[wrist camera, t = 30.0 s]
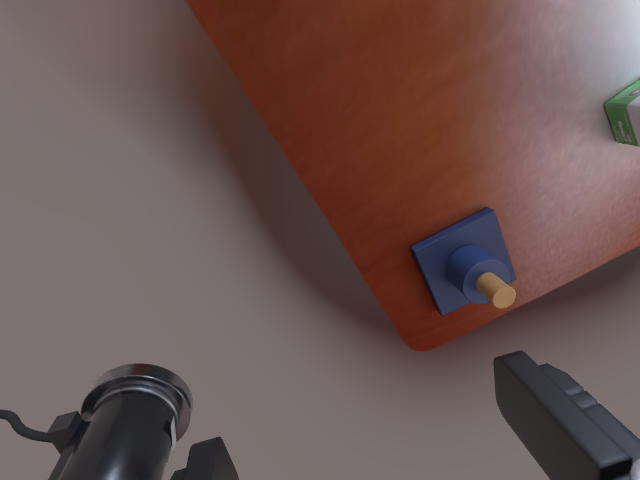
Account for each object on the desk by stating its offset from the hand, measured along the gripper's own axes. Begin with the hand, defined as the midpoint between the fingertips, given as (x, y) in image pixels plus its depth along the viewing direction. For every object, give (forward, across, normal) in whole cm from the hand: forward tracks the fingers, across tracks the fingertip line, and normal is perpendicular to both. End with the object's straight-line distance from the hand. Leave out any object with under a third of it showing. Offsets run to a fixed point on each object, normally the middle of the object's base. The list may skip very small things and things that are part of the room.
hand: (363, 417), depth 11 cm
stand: (+28, -16, +12) cm, 34 cm away
